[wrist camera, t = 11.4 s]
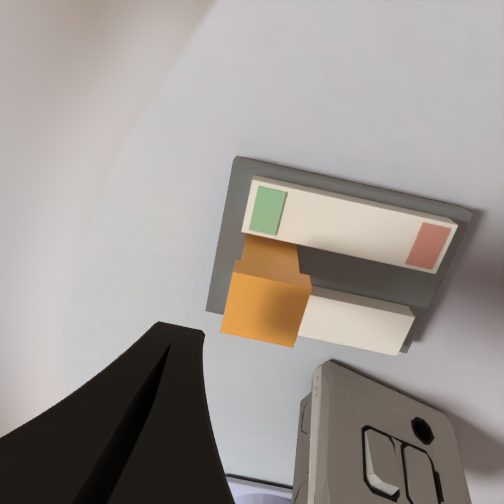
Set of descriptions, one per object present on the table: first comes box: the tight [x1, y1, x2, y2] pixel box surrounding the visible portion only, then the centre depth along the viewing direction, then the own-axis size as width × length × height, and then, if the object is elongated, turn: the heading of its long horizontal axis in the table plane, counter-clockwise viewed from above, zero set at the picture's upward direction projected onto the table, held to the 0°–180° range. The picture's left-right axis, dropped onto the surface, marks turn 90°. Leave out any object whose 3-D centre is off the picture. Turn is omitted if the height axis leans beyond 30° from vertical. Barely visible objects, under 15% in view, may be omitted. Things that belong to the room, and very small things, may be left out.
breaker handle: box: [220, 233, 312, 347], centre depth 16 cm, size 3×3×5 cm
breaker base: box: [205, 156, 474, 356], centre depth 18 cm, size 8×11×2 cm
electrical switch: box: [291, 361, 472, 504], centre depth 20 cm, size 9×5×9 cm, turn 63°
